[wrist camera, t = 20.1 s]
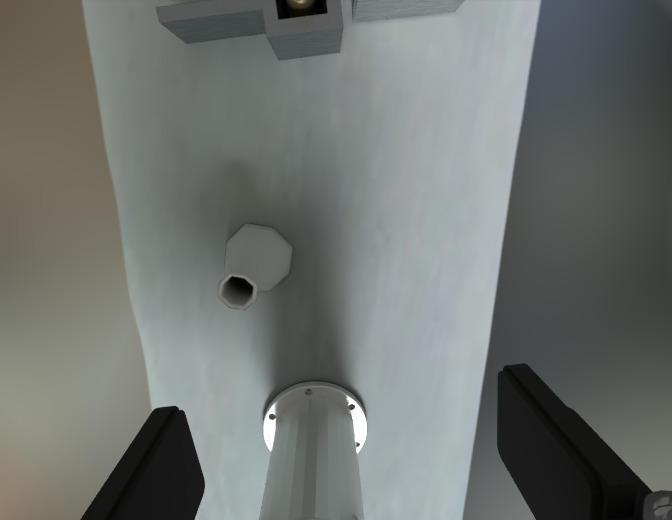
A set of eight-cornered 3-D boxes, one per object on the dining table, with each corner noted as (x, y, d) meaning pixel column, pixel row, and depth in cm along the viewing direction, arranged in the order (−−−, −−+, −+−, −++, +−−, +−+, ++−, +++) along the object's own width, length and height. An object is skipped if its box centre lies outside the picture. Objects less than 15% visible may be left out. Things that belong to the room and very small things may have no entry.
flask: (242, 210, 37) (213, 231, 27) (305, 243, 38) (298, 274, 29) (213, 269, 39) (177, 308, 29) (274, 299, 40) (258, 346, 30)
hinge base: (339, 52, 33) (343, 27, 26) (192, 71, 33) (158, 51, 27) (332, -20, 31) (333, -66, 25) (177, 1, 32) (137, -40, 25)
